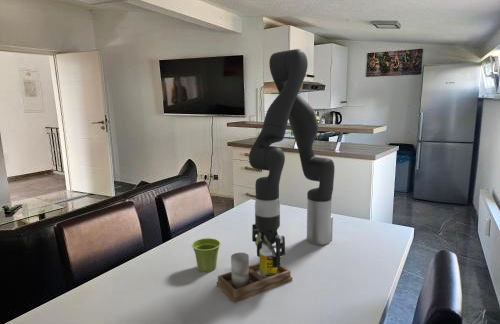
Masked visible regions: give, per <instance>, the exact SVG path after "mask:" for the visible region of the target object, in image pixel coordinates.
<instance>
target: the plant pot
mask: <svg viewBox="0 0 500 324" xmlns="http://www.w3.org/2000/svg"><path fill="white" fill-rule="evenodd" d="M220 246H221V241H220V240H218V239H217V238H210V237H206V238H205V237H204V238H199V239H197V240H194V241H193V242H192V244H191V247H192V248H193V251H194V254H195V259H196V266H197V269H198V271H200V272H202V273H203V272H209V273H210V272H213V271H214V270H215V269H217V262H218V253H219V250H220Z"/></svg>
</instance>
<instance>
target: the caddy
mask: <svg viewBox="0 0 500 324" xmlns="http://www.w3.org/2000/svg"><path fill="white" fill-rule="evenodd" d="M249 258H250V257H249V254H248V253H246V252H235V253H232V254H231V256H230V266H231V267H230V268H231V271H229V272H226V273H223V274H220V275H217V281H215V282H216V283H215V285H216V287H217V288H219V290H220V291H221V292H222V293H223V294H224V295H225V296H226V297H227V298H228V299H229V300H230V301H231V302H232V303H233V304H235V303H238V302H241V301H244V300H246V299H248V298H251V297H253V296H256V295H259V294H262V293H265V292H267V291H269V290H272V289H275V288H277V287H280V286H282V285H285V284H288V283H291V282H293V277H292V276H291V270H289V269H288V268H286V267H285V266H284V265H282V264H281V263H280V266H279V267H277V274H276V275H274V276H271V277H268V278H265V277H262V276H261V275H260V261H259V262H256V263H253V264H250V263H249V262H250V259H249Z"/></svg>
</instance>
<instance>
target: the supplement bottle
mask: <svg viewBox="0 0 500 324" xmlns="http://www.w3.org/2000/svg"><path fill="white" fill-rule="evenodd" d="M274 245H276V243H274V244H272V246H274ZM274 250H275V252H276V248H274ZM259 254H260V257H259V262H260V275H261V276H262V277H265V278H268V277H271V276H274V275H276V274H277V268H274V267H273V254H272V252H271V250H269V248H268V245H267V244H266V243H262V248H261V249H260V252H259Z"/></svg>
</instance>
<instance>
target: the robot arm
mask: <svg viewBox="0 0 500 324" xmlns="http://www.w3.org/2000/svg"><path fill="white" fill-rule="evenodd" d="M268 62H269V65H268V66H269V70H270V74H271V77H272V80H273V82H274V85H275V87H276V89H277V91H278V95H277V96H276V98H275V99H273V101H272V102H271V104H270V105H269V106H268V109H267V111H266V113H265V116H264V121H263V124H262V128H261V130H260V133H259V135H258V136H257V137H256V139H255V141H254V143H253V145H251V148H250V151H249V154H248V161H249V165H250V167H251V168H253V169H255V170H258V171H259V170H262V171H268V175H267V176H263V177H259V178H257V179H256V181H255V201H254V215H255V216H254V219H255V220H254V221H255V222H254V223H253V224H252V225H251V226H252V228H251V230H252V231H251V233H252V234H251V240H252V242H255V246H256V256H257V257H258V258H260V254H259V252H260V249H261V248H262V243H266V244H267V245H268V248H269V250H271V252H272V254H273V267H274V268H277V267H279V266H280V264H281V257H283V256H285V255H286V243H285V242H286V241H285V236H284V235H279V234H278V229H279V228H280V226H281V205H280V204H281V203H280V181H281V176H282V174H283V173H282V172H283V169H284V165H285V162H286V155H285V153H284V150H282V149H281V148H280V147H278V146H271V145H272V144H275V143H280V142H282V141H283V140H284V138H285V135H286V132H287V131H286V130H287V127H288V123H289V125H290V128H291V131H292V134H293V137H294V140H295V144H296V146H297V150H298V154H299V155H298V156H299V159H300V160H299V161H300V164H301V169H302V173H303V175H304V177H305V178H306V179H307V180H309V181H312V182H319V184H318V187H316V188H311V189H309V190H308V191H307V195H306V196H307V197H306V198H307V199H306V200H307V201H306V241H307V242H308V243H310V244H312V245H318V246H319V245H320V246H324V245H328V244H330V242H331V241H333V229H334V227H333V224H334V217H333V216H332V198H333V191H334V180H335V162H334V161H333V160H332V159H331V158H328V157H321V156H320V157H319V156H315V153H314V150H313V144H314V142H315V139H316V137H317V135H318V132H319V124H318V121H317V117H316V116H317V115H316V113H315V110H314V108H313V107H312V106H311V105H310V103H309V102H308V101H307V100H306V99H304V98H303V97H302V96H301V94H299V92H300V90H301V88H302V84H303V83H304V80H305V77H306V74H307V72H308V71H307V70H308V64H309V63H308V57H307V55H306V53H305V51H303V50H302V49H299V48H295V49H289V50H284V51H277V52H274V53H273V54H271V55H270V57H269V61H268ZM274 243H275V245H274V246H272V244H274ZM274 248H276V252H275V250H274Z"/></svg>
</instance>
